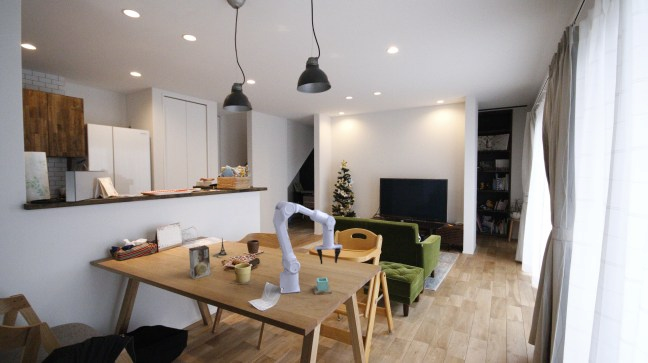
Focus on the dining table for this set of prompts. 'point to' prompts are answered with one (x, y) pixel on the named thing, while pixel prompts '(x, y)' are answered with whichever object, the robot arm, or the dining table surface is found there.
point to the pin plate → (322, 291)
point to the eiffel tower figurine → (220, 251)
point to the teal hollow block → (322, 284)
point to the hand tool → (254, 261)
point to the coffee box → (199, 261)
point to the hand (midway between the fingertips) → (328, 263)
